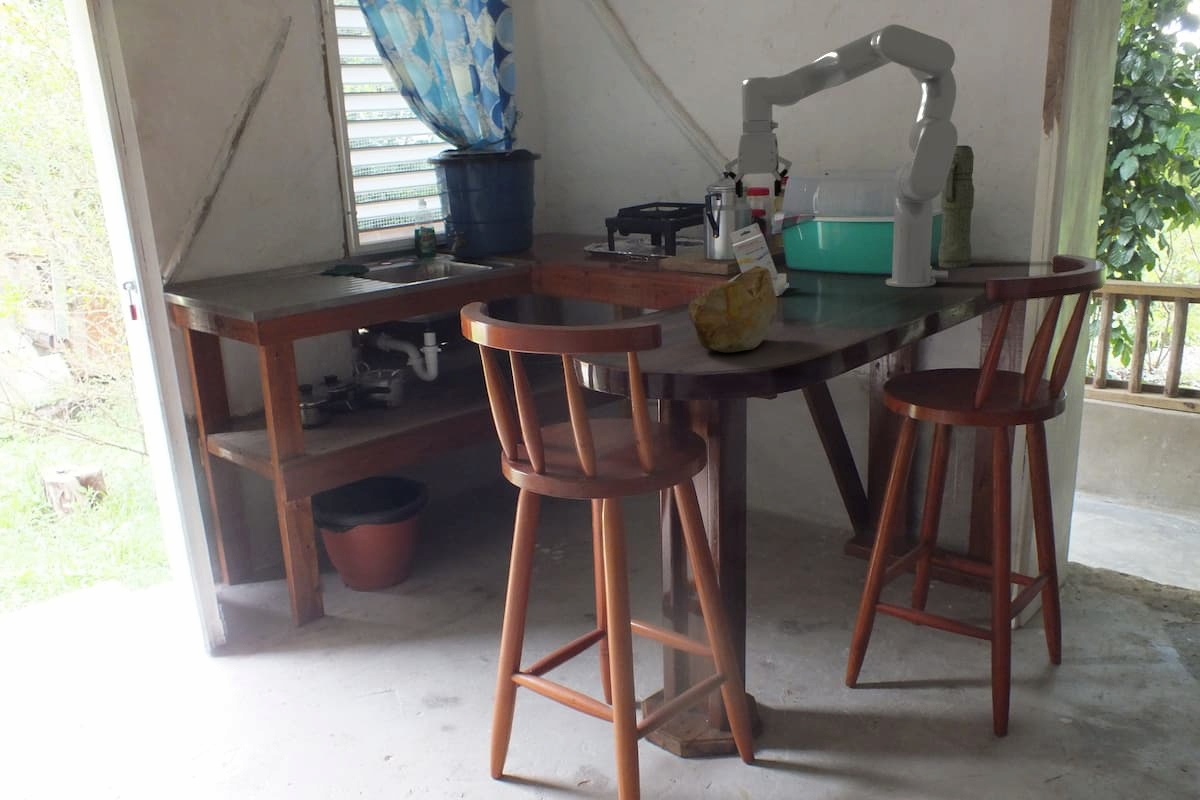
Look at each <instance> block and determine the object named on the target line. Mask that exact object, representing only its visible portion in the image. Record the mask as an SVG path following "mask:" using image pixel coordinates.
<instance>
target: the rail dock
mask: <svg viewBox="0 0 1200 800" xmlns="http://www.w3.org/2000/svg"><path fill="white" fill-rule="evenodd" d="M741 273H742V272H740V273H739V274H737V275H735V276H734V277H732V278H731V279H729V280H727V282H732V281H733V280H734V279H735V278H737V277H738V276H739V275H740V274H741ZM771 280H772V283H773V287H774V291H775V294H776V296H779V295H780V296H781V295H782V294H784V293H785V292H786V291H787V290H788V289H789V288H790V283H789V282H787V273H777V277H774V278H771ZM788 287H789V288H788ZM787 288H788V289H787ZM786 289H787V290H786ZM785 290H786V291H785ZM784 291H785V292H784ZM783 292H784V293H783ZM780 296H779V297H780Z"/></svg>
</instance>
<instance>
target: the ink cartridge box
mask: <svg viewBox="0 0 1200 800" xmlns="http://www.w3.org/2000/svg"><path fill="white" fill-rule="evenodd" d="M744 232H749V233H746V234H744ZM742 234H743V235H742ZM729 237H730V240H731V242H732V250H733V253H734V256H735V258H736V261H737V264H738V267H739V269H740V273H743V272H745V271H748V270H750V269H752V268H754V267H755V266H760V267H761V268H762V267H763V268H767V269H768V270H769V272H770V275H771V278H774V277H777V274H778V271H777V269H776V266H775V263H774V261H773V258H772V255H771V253H770V250H769V248H768V245H767V241H766V239H765V236H764V234H763V232H762V231H761V229H760V225H759V223H757V222H755V223H754V224H751V225H748V226H745V227H742V228H739V229H738V230H736V231H734V232H730V233H729Z"/></svg>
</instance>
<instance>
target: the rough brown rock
mask: <svg viewBox="0 0 1200 800" xmlns="http://www.w3.org/2000/svg"><path fill="white" fill-rule="evenodd" d="M740 273H741V274H740ZM740 273H739V274H740V275H739V274H738V275H739V276H738V277H737V278H735V279H734V280H733V281H732V282H728V281H726V282H722V283H719V284H715V285H712V286H710V287H709V289H708V291H707V292H706V293H703V294H701V295H697V296H696V297H694V298H693V299H692V300H691V301H689V303H688V316H689V319H690V321H691V322H692V324H693V325H694V328H695V333H696V334H697V335H696V336H697V339H698V341H699V343H700V345H701V346H702V347H704V350H711V349H712V350H713V351H717V352H721V353H737V352H741V351H751V350H754V349H755V348H757V347H759V345H760V344H761V343H762V342H763V341H764V340H766V338H767V337H768V336H769V334H771V333H770V332H771V329H772V328H771V327H772V325H771V321H772V320H773V319H774V318H775V316H776V315H777V313H778V311H777V309H778V299H777V298H778V297H776V294H775V291H774V287H773V283H772V280H771V275H770V272H769V270H768V269H767V268H763V267H762V268H761V267H760V266H755V267H754V268H752V269H750V270H748V271H745V272H743V273H742V272H740Z"/></svg>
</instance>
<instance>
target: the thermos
mask: <svg viewBox="0 0 1200 800" xmlns="http://www.w3.org/2000/svg"><path fill="white" fill-rule="evenodd" d="M974 160H975V155H974V151H973V147H972V146H970V145H957V147H956V150H955V154H954V157H953V161H952V164H951V167H950V170H949V174H948V177H947V180H946V183H945V185H944V188H943V189H942V191H941V200H940V201H941V202H940V204H941V205H940V208H941V211H942V217H941V235H940V236H941V238H940V243H939V246H938V258H937V259H938V267H940V268H952V269H953V268H954V269H955V268H965V267H969V266H970V261H971V258H972V257H971V256H972V244H971V239H970V238H971V224H972V222H971V221H972V210H973V209H974V200H975V187H974V184H973V179H974V178H973V173H974Z"/></svg>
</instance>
